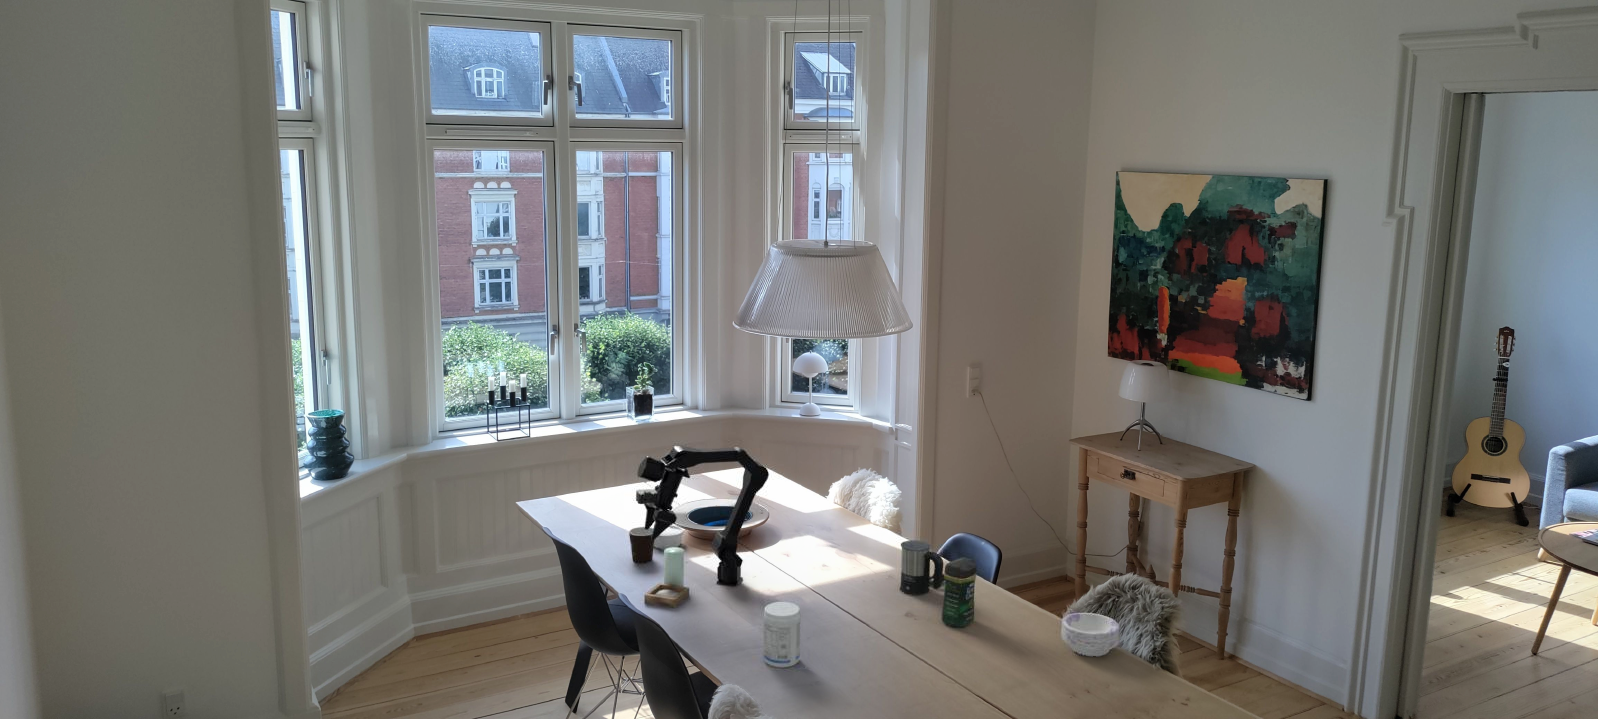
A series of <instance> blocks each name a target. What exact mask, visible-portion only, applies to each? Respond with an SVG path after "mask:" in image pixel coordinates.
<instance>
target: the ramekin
mask: <svg viewBox="0 0 1598 719" xmlns="http://www.w3.org/2000/svg"><path fill="white" fill-rule="evenodd" d="M683 535H684V530H683V528H682V527H680V526H676V525H670V526H669V527H668V528H667V529H666V530H664V531H663V532H662V533H661V534H660V535H659V536H658V537H657V538H656V539H655V540H654V548H656V549H661V550H665V549H667V548H671V547H678V548H679V546H680V545H681V544H682V539H683Z"/></svg>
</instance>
